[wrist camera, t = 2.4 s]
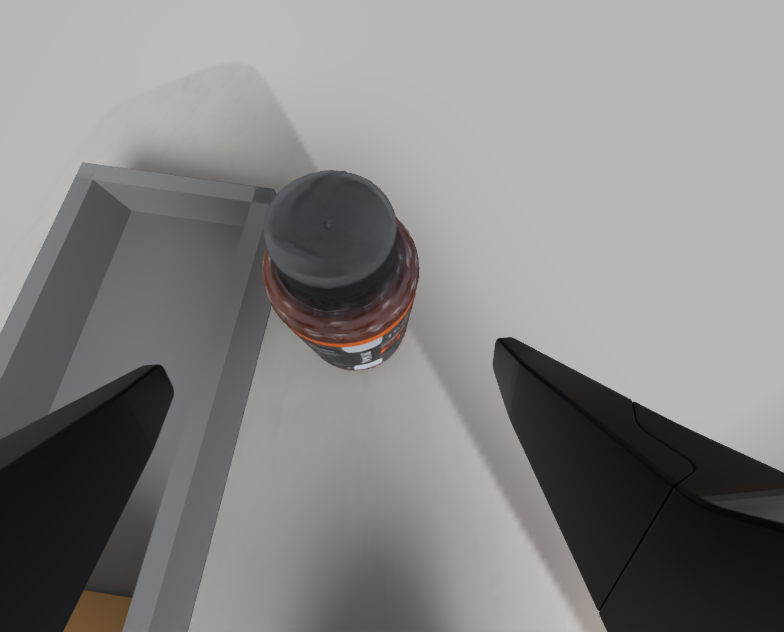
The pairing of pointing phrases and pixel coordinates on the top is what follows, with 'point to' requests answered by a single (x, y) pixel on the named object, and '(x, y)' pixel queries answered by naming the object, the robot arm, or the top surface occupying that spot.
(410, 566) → the top surface
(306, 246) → the supplement bottle
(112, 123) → the top surface
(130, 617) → the tray
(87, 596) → the pusher
